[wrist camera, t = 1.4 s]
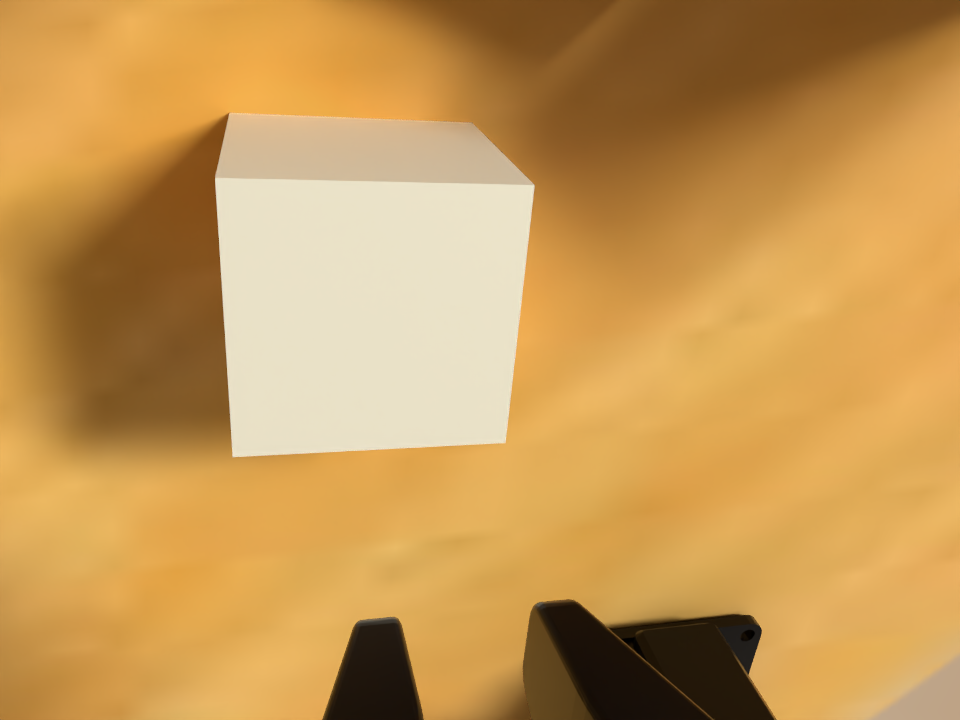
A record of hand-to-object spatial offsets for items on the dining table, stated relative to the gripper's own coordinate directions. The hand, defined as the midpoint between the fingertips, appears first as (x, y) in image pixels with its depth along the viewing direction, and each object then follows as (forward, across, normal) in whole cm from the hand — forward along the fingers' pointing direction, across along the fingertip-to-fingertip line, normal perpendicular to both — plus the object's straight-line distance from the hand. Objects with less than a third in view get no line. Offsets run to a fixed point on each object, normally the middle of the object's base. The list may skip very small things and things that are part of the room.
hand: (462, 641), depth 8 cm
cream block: (+12, 0, 0) cm, 12 cm away
